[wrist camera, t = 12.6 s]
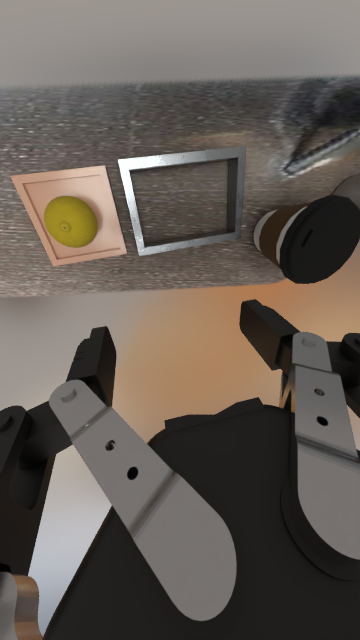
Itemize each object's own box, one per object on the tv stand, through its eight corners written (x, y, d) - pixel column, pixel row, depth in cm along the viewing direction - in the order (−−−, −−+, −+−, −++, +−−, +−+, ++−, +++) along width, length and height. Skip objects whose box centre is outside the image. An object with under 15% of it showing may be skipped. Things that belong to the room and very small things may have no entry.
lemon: (46, 216, 26) (19, 223, 19) (74, 185, 25) (56, 181, 18) (82, 249, 29) (70, 265, 22) (109, 222, 28) (105, 230, 21)
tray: (105, 166, 25) (104, 165, 24) (126, 251, 31) (127, 253, 30) (15, 176, 24) (10, 175, 23) (55, 263, 29) (53, 266, 28)
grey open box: (235, 150, 27) (246, 145, 25) (232, 234, 33) (240, 238, 31) (118, 163, 25) (117, 159, 23) (138, 251, 31) (139, 256, 29)
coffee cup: (230, 254, 35) (271, 277, 25) (259, 183, 30) (324, 178, 20) (276, 268, 39) (327, 293, 29) (309, 207, 34) (384, 213, 24)
